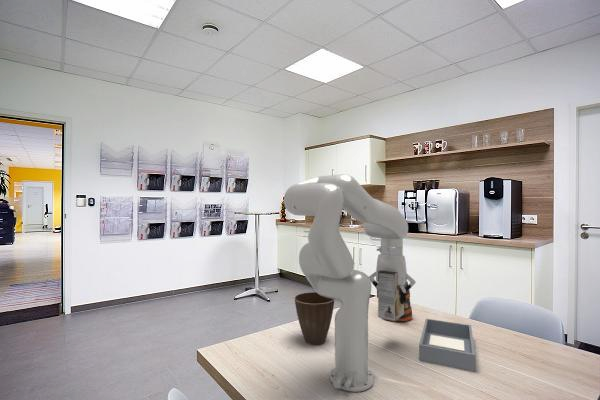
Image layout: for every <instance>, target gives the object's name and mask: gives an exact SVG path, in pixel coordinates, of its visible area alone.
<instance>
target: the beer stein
mask: <svg viewBox="0 0 600 400" xmlns="http://www.w3.org/2000/svg"><path fill="white" fill-rule="evenodd" d="M407 285H409V281H408V280H407V281H406V283H405V286H407ZM410 291H411V289H409V290H408V291H407V292H406V302H404V315H402V316H401V317H400V318H398V319H397V320H396V321H393V320H389V319H384V318H382V319H383V320H386V321H389V322H398V323H403V322H409V321H412V320H413V311H412V310H413V308H412V306H411V292H410Z"/></svg>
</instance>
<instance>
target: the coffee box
mask: <svg viewBox="0 0 600 400" xmlns="http://www.w3.org/2000/svg"><path fill="white" fill-rule="evenodd" d="M377 283H378V298H377V302H378V303H377V305H378V306H377V309H378V310H377V311H378V312H377V313H378V314H377V316H378V318H381V319H383V318H384V319H383V320H386V319H389V320H393V321H392V322H395V321H396V320H397V319H398V318H400V317H401V316H402V315H404V304H401V292H402V289H401V287H400V285H398V273H397V272H389V271H378V282H377ZM389 320H388V321H389Z"/></svg>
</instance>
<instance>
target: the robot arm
mask: <svg viewBox="0 0 600 400" xmlns="http://www.w3.org/2000/svg"><path fill="white" fill-rule="evenodd" d="M283 205H284V207H285V209H286V210H287V212H289V214H291V215H294V216H303V217H307V216H308V217H309V216H310V217H314V218H313V221H312V223H311V226H310V229H309V232H308V234H307V241H308V242H307V243H305V244H304V245H303V246H302V247H301V248H300V251H299V255H298V263H299V264H298V265H299V268H300V269H301V272H302V274H303V275H304V277H305V278H306V279H307V281H308V283H309V284H310V285H311V287H312V289H313V290H314V291H315V292H317V293H318V294H319V295H320V296H323V297H326V298H330V299H334V301H337V302H341V305H340V307H339V309H337V311H336V312H335V316H334V367H333V368H332V369H331V370H330V371H329V380H330V382H331V383H332V385H333V387H334V388H335V389H340V390H342V391H347V392H355V393H357V392H364V391H367V390H369V389H371V388H372V386H374V382H375V380H374V379H375V378H374V374H373V372H371V371H370V370H369V304H370V298H371V293H372V286H374V287H375V289H376V298H377V299H378V271H389V272H397V273H398V285H400V287H401V289H402V292H401V304H404V302H406V292H407V291H408V290H411V288H412V287H413V286H414V285H416V280H415V279H414V278H412V277H411V276H410V275H409V274H408V273H407V271H408V270H407V263H406V262H407V261H406V256H405V255H404V254H403V253H404V251H403V250H404V249H403V245H404V244H403V243H404V238H405V237H407V234H409V233H408V232H409V224H408V222H407V221H408V220H407V219H406V218H405V216H404V215H403V214H402V212H401V211H400V209H399V210H398V208H396V207H394V206H392V205H391V204H388V203H386V202H384V201H381V200H380V199H376V198H373V196H371V195H370V194H369V192H367V190H366V189H365V188H363V186H362V185H361V184H360V183H359V182H358V180H356V179H355V178H354V177H353V176H351V175H349V174H344V173H343V174H331V175H328V174H327V175H321V176H317V177H314V178H310V179H307V180H304V181H301V182H297V183H295V184H292V185H291V186H289V187H288V188H287V189H286V191H285V193H284V196H283ZM343 210H344V211H345V212H346V213H347V214H348V215H349V216H350V217H351V218H353V219H354V220H356V221H358V222H362V223H363V231H364V233H365V234H366V235H367V236H368V237H369V238H373V239H380V246H377V247H376V251H377V252H379V254H377V259H376V260H377V261H376V269H375V272H373V273H372V274H370V275H369V276H368V275H367V274H366V273H365V272H363V271H360V270H358V269H357V270H356V269H354V268H355V264H354V263H355V262H354V258H353V256H352V253H351V252H350V249H349V248H348V246H347V244H346V243H345V241H344V240H345V239H344V238H343V237H342V234H341V232H340V222H341V216H342V212H343ZM406 281H407V282H409V283H408V285H407V286H405V283H406Z"/></svg>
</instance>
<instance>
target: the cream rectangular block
mask: <svg viewBox="0 0 600 400" xmlns="http://www.w3.org/2000/svg"><path fill="white" fill-rule="evenodd" d="M429 346H434V347H440V348H445V349H450V350H456V351H461V352H465V351H464V340H458V339H452V338H446V337H440V336H435V335H431V337H430V342H429Z"/></svg>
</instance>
